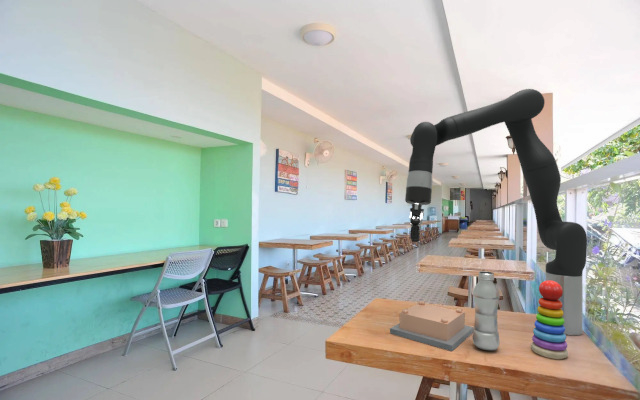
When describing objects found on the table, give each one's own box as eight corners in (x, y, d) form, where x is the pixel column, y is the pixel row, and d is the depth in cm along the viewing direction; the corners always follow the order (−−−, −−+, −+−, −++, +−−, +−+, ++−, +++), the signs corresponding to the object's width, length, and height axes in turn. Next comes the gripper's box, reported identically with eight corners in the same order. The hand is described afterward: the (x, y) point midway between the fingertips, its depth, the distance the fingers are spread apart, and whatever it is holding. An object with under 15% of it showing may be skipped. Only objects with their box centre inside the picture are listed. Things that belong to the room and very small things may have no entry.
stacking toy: (527, 352, 87) (527, 279, 87) (535, 344, 93) (535, 275, 93) (564, 363, 81) (564, 285, 82) (570, 353, 87) (570, 280, 87)
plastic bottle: (467, 347, 90) (468, 272, 90) (478, 341, 94) (479, 269, 94) (493, 356, 85) (493, 276, 85) (503, 348, 89) (504, 272, 90)
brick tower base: (416, 318, 113) (416, 297, 113) (473, 332, 101) (473, 309, 101) (389, 333, 99) (390, 310, 99) (452, 351, 87) (452, 324, 87)
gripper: (432, 183, 95) (427, 240, 93) (431, 193, 109) (427, 243, 106) (404, 181, 98) (399, 237, 95) (407, 191, 111) (403, 241, 108)
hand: (414, 240), depth 101 cm, fingers open, 8 cm apart
